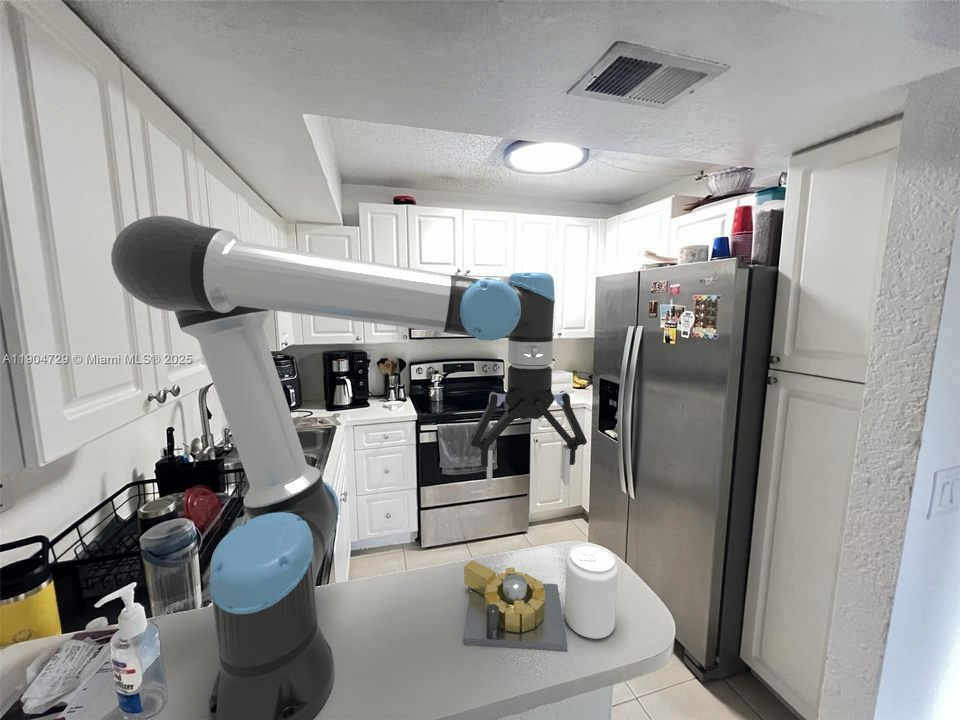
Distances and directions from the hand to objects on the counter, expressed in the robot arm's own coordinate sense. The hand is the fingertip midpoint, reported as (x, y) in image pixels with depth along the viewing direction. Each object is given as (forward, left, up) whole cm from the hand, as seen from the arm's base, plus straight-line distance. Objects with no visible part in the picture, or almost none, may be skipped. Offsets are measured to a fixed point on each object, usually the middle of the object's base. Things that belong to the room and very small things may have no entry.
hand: (527, 482), depth 70 cm
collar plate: (-2, -6, -21) cm, 22 cm away
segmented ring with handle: (-4, -5, -20) cm, 21 cm away
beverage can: (+10, -7, -22) cm, 25 cm away
